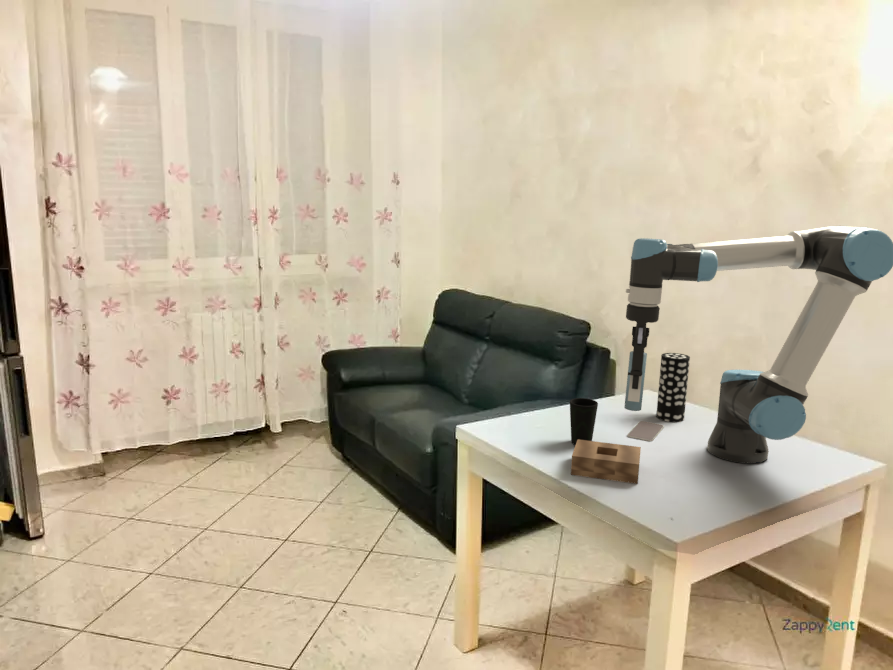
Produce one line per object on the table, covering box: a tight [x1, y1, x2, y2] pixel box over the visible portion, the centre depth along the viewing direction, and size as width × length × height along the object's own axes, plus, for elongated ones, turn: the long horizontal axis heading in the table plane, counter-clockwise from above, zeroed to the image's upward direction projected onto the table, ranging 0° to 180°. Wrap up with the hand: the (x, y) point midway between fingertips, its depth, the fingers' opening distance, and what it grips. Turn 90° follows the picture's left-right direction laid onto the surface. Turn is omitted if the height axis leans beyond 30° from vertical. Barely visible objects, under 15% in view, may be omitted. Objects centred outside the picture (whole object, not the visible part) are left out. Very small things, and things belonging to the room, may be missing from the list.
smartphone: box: [626, 420, 665, 442], centre depth 196 cm, size 7×1×15 cm
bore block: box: [570, 439, 642, 485], centre depth 167 cm, size 16×12×5 cm
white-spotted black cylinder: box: [655, 352, 691, 423], centre depth 206 cm, size 8×8×20 cm
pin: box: [624, 350, 648, 412], centre depth 161 cm, size 4×4×14 cm
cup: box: [569, 397, 599, 446], centre depth 184 cm, size 8×8×12 cm
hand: (633, 398), depth 162 cm, fingers closed on pin, 4 cm apart
